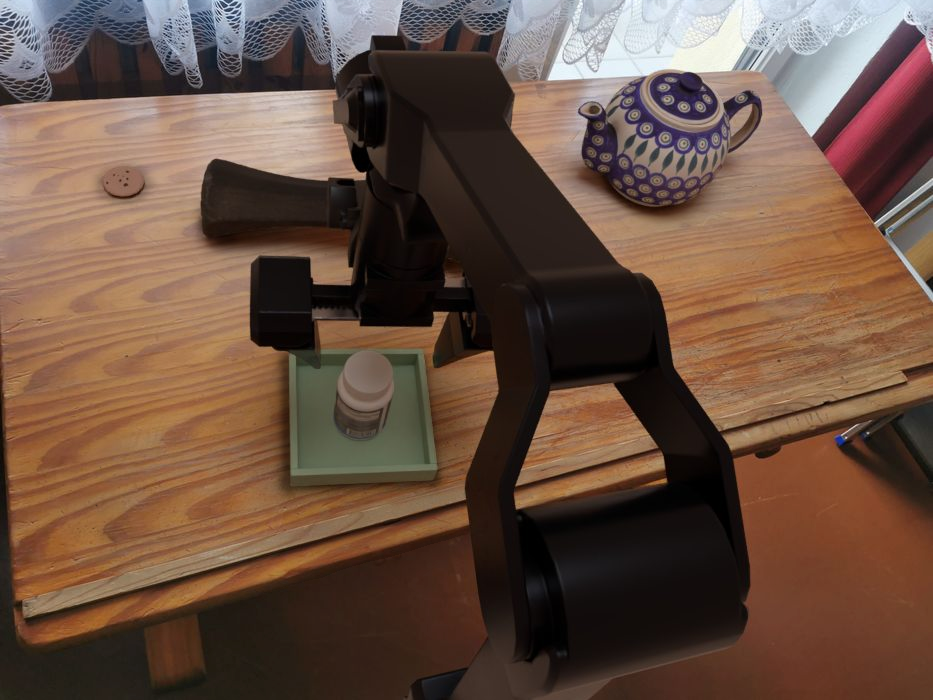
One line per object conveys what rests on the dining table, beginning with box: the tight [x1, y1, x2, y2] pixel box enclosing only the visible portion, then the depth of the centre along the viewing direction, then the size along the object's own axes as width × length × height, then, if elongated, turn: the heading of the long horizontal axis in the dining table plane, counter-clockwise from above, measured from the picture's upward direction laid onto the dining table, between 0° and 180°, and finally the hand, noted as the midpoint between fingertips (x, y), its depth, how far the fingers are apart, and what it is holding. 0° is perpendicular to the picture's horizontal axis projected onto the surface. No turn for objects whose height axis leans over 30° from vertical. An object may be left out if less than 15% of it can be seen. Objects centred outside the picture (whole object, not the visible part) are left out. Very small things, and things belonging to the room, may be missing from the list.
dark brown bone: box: [199, 158, 459, 264], centre depth 78 cm, size 11×10×28 cm
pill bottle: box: [334, 351, 394, 441], centre depth 66 cm, size 5×5×8 cm
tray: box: [288, 348, 439, 487], centre depth 69 cm, size 12×12×2 cm
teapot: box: [577, 68, 763, 208], centre depth 89 cm, size 25×15×15 cm, turn 105°
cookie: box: [102, 165, 145, 198], centre depth 78 cm, size 4×4×1 cm
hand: (377, 363), depth 61 cm, fingers open, 9 cm apart
